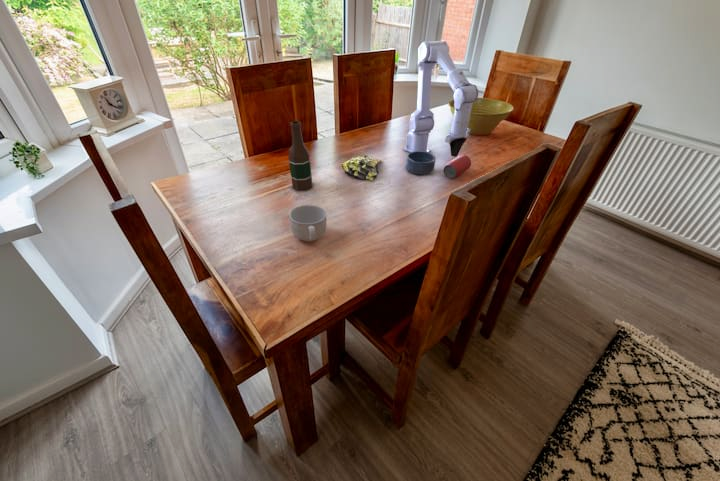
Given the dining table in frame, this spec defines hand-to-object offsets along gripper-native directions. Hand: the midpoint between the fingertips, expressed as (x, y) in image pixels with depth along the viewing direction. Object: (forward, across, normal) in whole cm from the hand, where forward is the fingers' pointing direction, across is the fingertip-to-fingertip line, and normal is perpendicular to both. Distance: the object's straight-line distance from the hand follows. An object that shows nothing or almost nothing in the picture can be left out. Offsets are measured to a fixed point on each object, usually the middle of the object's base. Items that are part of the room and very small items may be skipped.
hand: (454, 155), depth 127 cm
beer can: (+4, +7, -2) cm, 8 cm away
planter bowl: (+8, +53, +19) cm, 57 cm away
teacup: (+8, -68, +5) cm, 69 cm away
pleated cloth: (+8, -22, +27) cm, 36 cm away
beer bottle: (+8, -50, +33) cm, 61 cm away
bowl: (+7, -6, +11) cm, 15 cm away
